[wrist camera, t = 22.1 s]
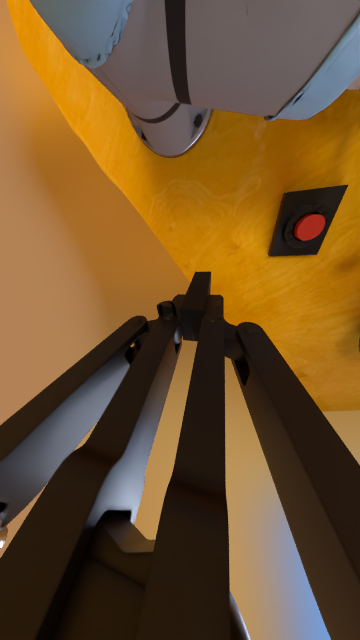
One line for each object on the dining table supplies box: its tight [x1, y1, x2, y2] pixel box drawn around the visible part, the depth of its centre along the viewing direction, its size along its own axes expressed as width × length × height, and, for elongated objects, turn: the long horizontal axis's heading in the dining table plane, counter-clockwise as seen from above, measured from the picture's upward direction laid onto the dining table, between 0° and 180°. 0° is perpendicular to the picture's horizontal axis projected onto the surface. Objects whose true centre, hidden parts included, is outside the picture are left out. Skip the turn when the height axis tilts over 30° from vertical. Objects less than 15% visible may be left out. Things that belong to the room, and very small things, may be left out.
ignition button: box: [294, 214, 325, 241], centre depth 27 cm, size 4×4×2 cm
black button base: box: [268, 185, 348, 256], centre depth 28 cm, size 11×9×4 cm
